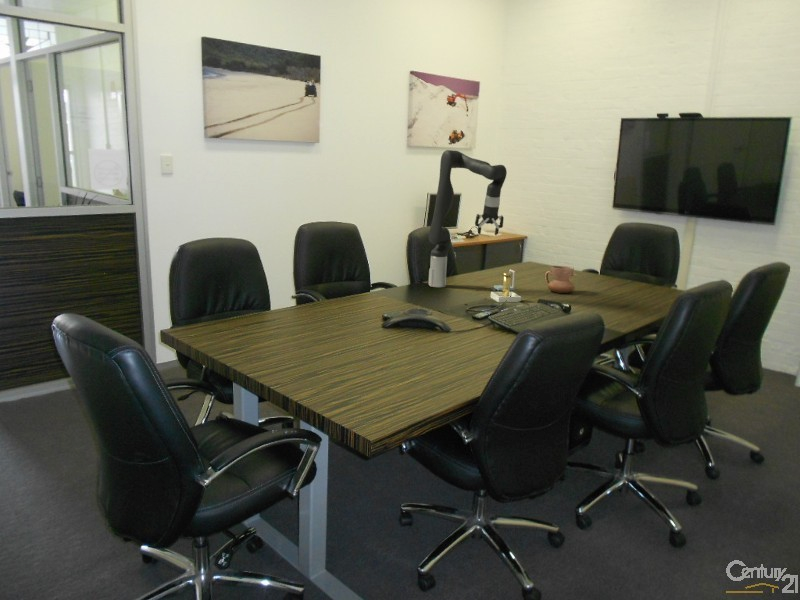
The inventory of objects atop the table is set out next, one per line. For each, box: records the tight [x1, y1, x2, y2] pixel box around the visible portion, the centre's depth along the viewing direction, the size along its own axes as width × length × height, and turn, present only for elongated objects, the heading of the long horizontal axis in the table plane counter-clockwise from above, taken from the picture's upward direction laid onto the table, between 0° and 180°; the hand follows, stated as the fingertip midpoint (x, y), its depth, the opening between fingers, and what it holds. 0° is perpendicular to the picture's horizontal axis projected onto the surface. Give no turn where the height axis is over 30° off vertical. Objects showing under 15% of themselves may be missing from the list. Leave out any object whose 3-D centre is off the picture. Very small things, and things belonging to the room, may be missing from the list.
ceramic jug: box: [544, 265, 578, 294], centre depth 330 cm, size 18×14×14 cm
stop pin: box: [502, 272, 513, 297], centre depth 305 cm, size 5×5×13 cm
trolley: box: [492, 269, 516, 294], centre depth 316 cm, size 10×7×14 cm
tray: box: [490, 291, 522, 303], centre depth 306 cm, size 12×12×3 cm
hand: (487, 234), depth 308 cm, fingers open, 8 cm apart
